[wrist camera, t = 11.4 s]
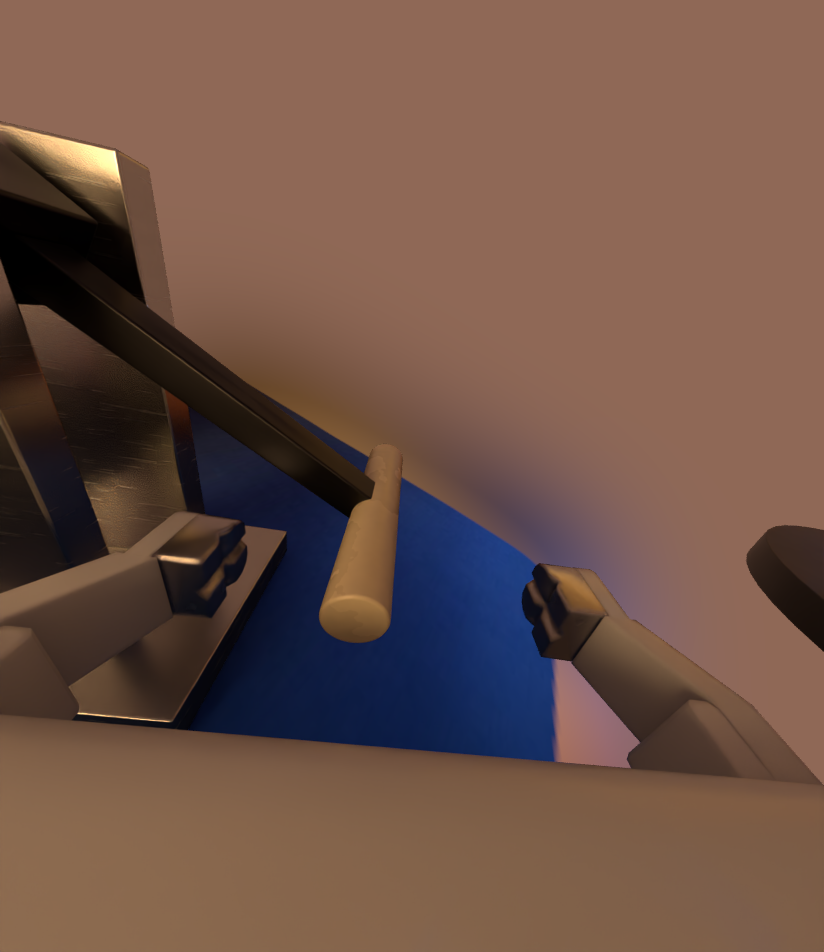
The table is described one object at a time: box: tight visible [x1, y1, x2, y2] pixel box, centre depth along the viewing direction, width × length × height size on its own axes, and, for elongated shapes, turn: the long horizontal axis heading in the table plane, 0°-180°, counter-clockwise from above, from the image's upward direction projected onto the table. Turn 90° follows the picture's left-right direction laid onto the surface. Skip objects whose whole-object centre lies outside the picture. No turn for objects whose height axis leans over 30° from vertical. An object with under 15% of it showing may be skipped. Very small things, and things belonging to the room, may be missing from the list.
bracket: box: [0, 121, 287, 730], centre depth 8 cm, size 10×8×14 cm
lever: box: [0, 143, 403, 643], centre depth 8 cm, size 13×8×2 cm
